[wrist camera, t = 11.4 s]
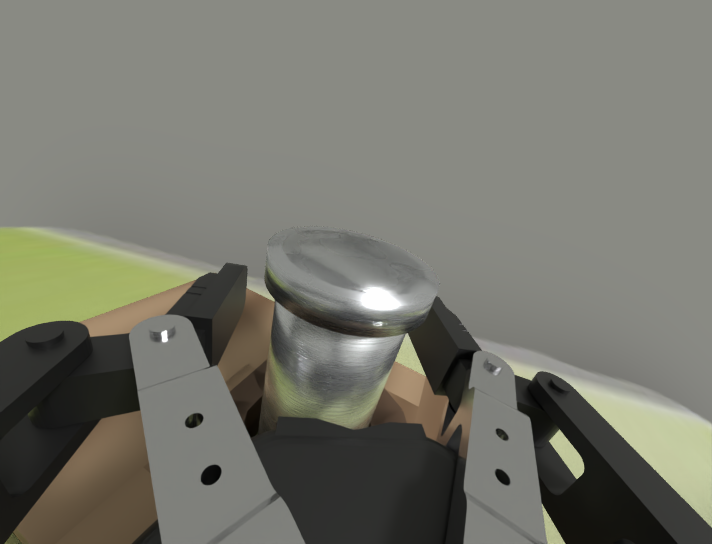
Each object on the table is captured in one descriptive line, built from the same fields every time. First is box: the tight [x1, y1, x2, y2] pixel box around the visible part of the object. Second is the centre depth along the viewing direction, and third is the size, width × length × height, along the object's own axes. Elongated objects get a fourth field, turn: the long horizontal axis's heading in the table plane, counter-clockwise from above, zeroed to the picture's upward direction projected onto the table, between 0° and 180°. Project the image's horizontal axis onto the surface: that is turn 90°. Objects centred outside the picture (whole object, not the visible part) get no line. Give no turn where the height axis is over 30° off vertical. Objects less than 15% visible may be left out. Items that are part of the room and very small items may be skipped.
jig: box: [13, 280, 448, 544], centre depth 14 cm, size 20×14×3 cm
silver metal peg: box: [258, 226, 440, 434], centre depth 11 cm, size 5×5×12 cm
